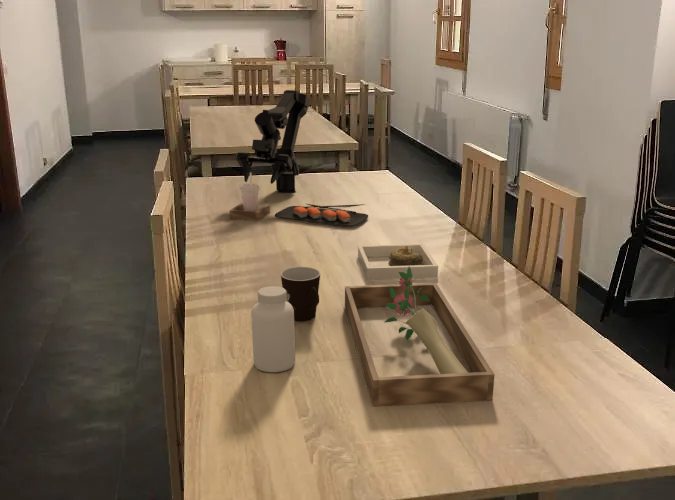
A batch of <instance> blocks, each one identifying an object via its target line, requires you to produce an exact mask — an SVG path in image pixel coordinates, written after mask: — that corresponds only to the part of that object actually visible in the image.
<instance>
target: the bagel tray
mask: <svg viewBox="0 0 675 500" xmlns="http://www.w3.org/2000/svg"><path fill="white" fill-rule="evenodd" d="M407 246H408V248H412V254H415V253H418V254H421V255H422V258H423V261H424V262H425V264H424V265H414V266H390V265H388V266H387V265H385V266H371V265H370V262H369V259H368V258H376V257H377V258H380V257H382V258H383V257H389V256H390V254H391V252H392V251H393V250H395V249H398V248H401V247H402V248H403V247H407ZM357 257H358V260H359V263H360V265H361V268H362V270H363V273H364V275H365V278H366V280H367V281H368V280H391V279H392V280H393V279H394V280H398V279H399V280H400V278H401V276H400V274H399V272H404V273H406V274H407V269H408V267H410V269H411V272H412V276H413V277H412V279H424V278H438V277H439V276H438V275H439V265H438V264H437V262H436V260H435V259H434V257H433V256H432V254H431V253H430V252H429V250H428V249H427V248H426V246H425V245H424V244H423V243H408V244H407V243H405V244H402V243H400V244H377V245H376V244H374V245H371V244H369V245H357Z"/></svg>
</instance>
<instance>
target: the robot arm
mask: <svg viewBox="0 0 675 500" xmlns="http://www.w3.org/2000/svg"><path fill="white" fill-rule="evenodd" d="M310 104H311V101H310V98H309V97H308V96H307V95H306V94H303V93H301V92H300V91H299V90H295V89H285V90H284V91H283V95H282V96H281V98H280V99H279V101H278V102H277V104H276V105H275V107H273V108H271V109H270V108H269V109H263V110H262V112H259V113H258V114H257V115H256V116H255V117H254V123H255V125H256V126H257V128H258V132H259V133H260V134H261V135H262V137H261V139H252V144H251V145H252V146H251V150H253V151H254V152H253V153H254V154H255V155H256V156H251V154H250V153H249V152H248V151H238V152H237V153H236V156H235V159H236V162H237V163H238V165H239V166H240V167H241V168H242V169H243V178H244V180H243V181H244V182H245V183H248V180H249V179H250V172H251V171H252V166H253V164H263V165H265V164H266V165H271V168H272V174H271V177H270V181H269V184H271V185H273V184H274V183H276V184H275V185H276V187H275V189H276V191H277V193H296V192H297V191H296V176H299V175H300V167H299V165H298V162H297V158H296V156H295V153H294V151H295V147H296V141H297V137H298V132H299V128H300V124H301V120H302V118H303V117H305V116H306V115H307V112H308V109H309V108H310ZM283 129H284V134H283V139H282V137H281V132H280V130H283ZM281 140H282V143H281V147H280V148H278V145H279V141H281ZM251 173H252V172H251Z"/></svg>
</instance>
